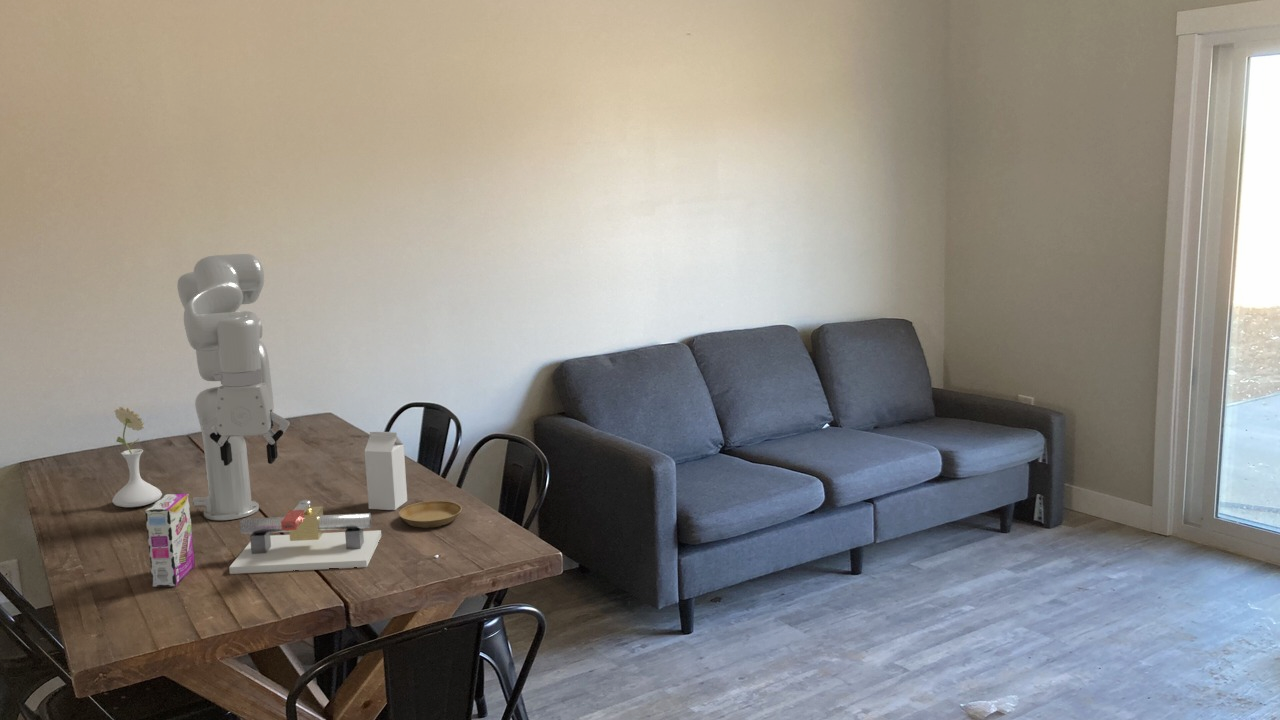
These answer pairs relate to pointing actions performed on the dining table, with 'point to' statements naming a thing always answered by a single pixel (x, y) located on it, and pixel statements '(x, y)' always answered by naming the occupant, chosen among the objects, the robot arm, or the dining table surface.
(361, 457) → the dining table surface
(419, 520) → the plant saucer
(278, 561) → the valve board
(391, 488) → the milk carton
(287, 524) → the valve lever
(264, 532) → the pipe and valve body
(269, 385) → the robot arm
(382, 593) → the dining table surface
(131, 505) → the flower in vase
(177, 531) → the candy bar box
